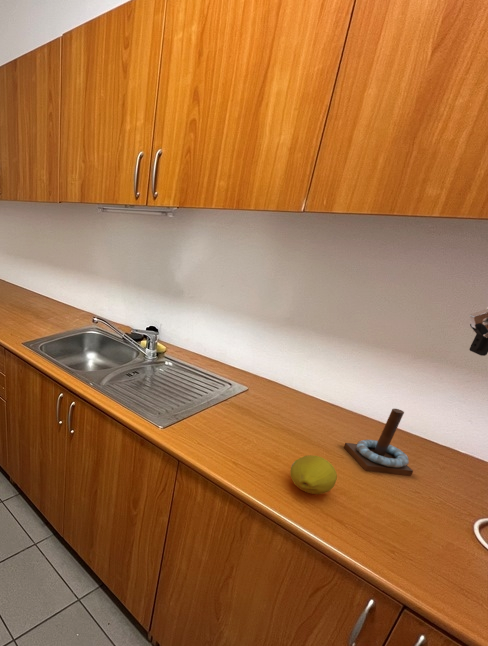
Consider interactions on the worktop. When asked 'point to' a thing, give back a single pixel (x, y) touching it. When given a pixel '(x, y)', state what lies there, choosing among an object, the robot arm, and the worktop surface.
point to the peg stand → (381, 448)
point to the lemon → (313, 474)
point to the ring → (390, 462)
